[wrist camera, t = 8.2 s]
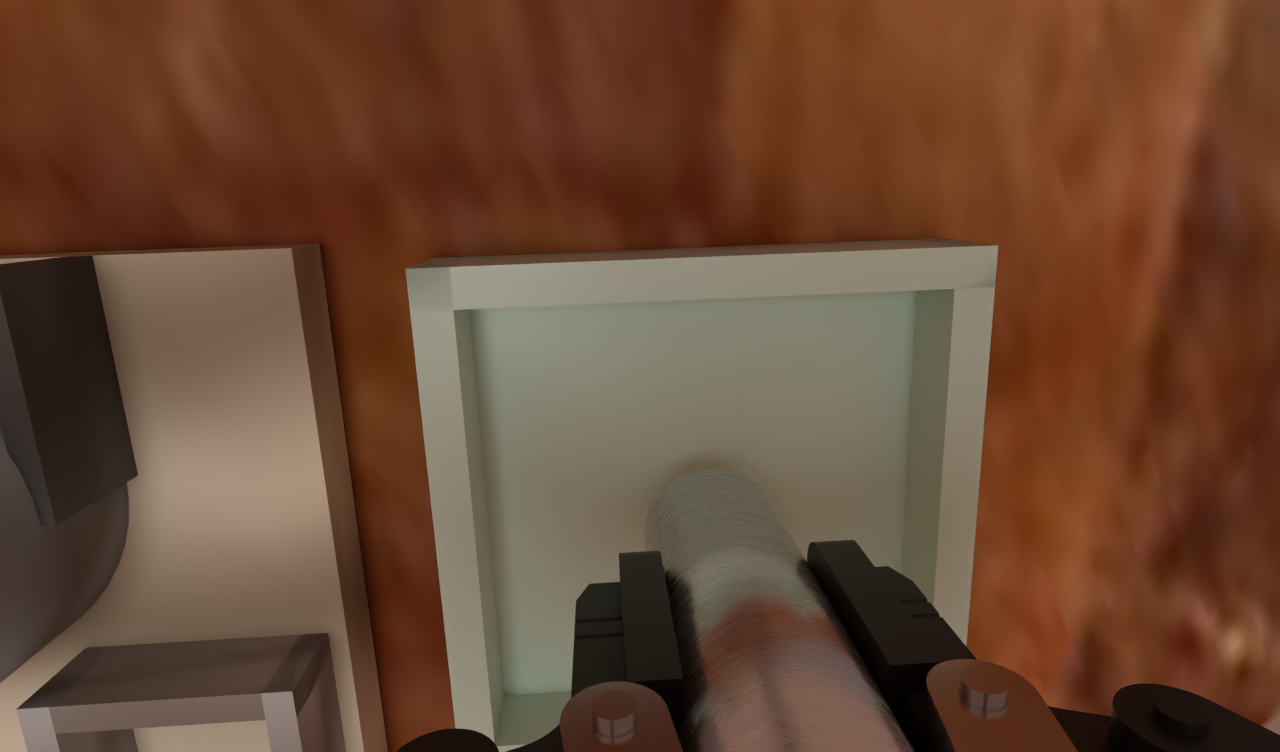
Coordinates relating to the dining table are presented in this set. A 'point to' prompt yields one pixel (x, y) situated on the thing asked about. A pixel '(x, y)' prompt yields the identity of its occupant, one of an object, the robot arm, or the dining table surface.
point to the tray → (686, 426)
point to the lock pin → (758, 629)
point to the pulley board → (178, 508)
